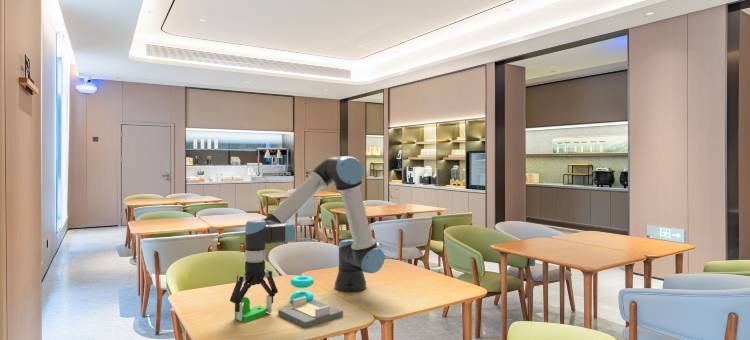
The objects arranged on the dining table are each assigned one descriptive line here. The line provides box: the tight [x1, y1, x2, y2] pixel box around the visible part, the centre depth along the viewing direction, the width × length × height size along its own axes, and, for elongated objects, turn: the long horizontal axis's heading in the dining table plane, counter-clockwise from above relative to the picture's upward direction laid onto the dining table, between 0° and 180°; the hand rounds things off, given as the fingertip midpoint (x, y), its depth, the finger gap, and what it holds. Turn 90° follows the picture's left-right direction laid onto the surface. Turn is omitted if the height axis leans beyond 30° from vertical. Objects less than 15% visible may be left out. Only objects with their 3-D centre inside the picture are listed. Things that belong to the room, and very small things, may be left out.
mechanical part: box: [234, 296, 267, 323], centre depth 173 cm, size 12×6×8 cm, turn 146°
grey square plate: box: [277, 297, 344, 329], centre depth 174 cm, size 18×18×5 cm
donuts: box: [290, 275, 315, 303], centre depth 192 cm, size 10×10×10 cm
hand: (254, 315), depth 172 cm, fingers closed on mechanical part, 12 cm apart
